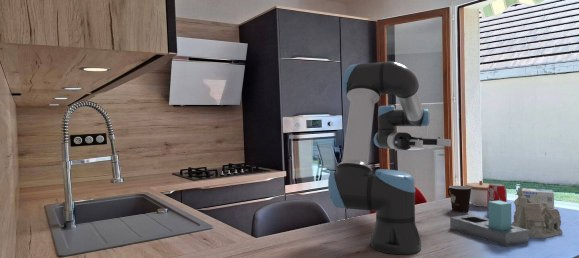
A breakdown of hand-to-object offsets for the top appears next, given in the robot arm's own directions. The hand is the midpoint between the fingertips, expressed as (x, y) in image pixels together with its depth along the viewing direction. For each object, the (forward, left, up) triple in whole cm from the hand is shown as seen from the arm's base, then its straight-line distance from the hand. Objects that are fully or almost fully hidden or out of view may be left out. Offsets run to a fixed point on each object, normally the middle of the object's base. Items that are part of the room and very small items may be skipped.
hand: (436, 143), depth 144 cm
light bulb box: (+41, -11, -30) cm, 52 cm away
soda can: (+32, 0, -30) cm, 44 cm away
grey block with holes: (+3, -20, -30) cm, 36 cm away
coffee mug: (+23, +11, -30) cm, 40 cm away
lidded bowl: (+39, +14, -30) cm, 51 cm away
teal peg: (+3, -25, -30) cm, 39 cm away
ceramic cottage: (+22, -24, -30) cm, 44 cm away
